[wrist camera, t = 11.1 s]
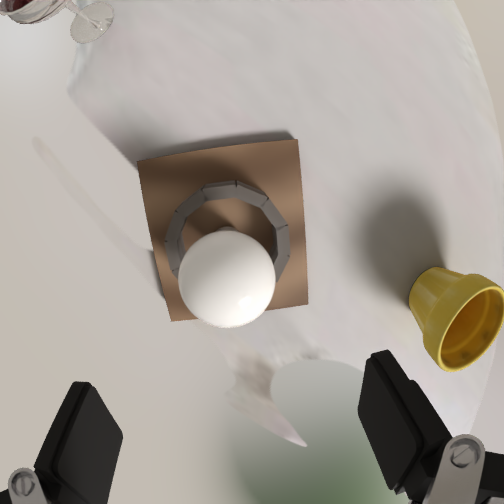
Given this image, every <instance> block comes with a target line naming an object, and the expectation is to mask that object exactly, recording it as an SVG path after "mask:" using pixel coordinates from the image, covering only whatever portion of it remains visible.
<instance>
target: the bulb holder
mask: <svg viewBox="0 0 504 504" xmlns="http://www.w3.org/2000/svg"><path fill="white" fill-rule="evenodd" d="M137 165H138V171H139V178H140V184H141V190H142V194H143V201H144V206H145V212H146V217H147V221H148V227H149V232H150V236H151V241H152V245H153V250H154V255H155V259H156V263H157V268H158V272H159V276H160V280H161V284H162V288H163V292H164V296H165V300H166V303H167V307H168V311H169V314H170V318H171V321H181V320H191V319H198V318H197V317H195V316H194V315H193V314H192V313H191V312H190V310H189V309H188V308H187V307H186V305H185V303H184V301H183V299H182V297H181V294H180V291H179V285H178V273H179V268H180V264H181V261H182V259H183V257H184V255H185V253H186V252H187V250H188V249H189V248H190V247H191V246H192V245H193V244H194V243H195V242H196V241H197V240H198V239H200V238H202V237H203V236H205V235H207V234H210V233H213V232H216V231H217V230H218V229H219V228H221V227H226V226H228V227H233V228H235V229H237V230H238V231H239V232H241V233H244V234H246V235H248V236H250V237H252V238H253V239H255V240H256V241H258V242H259V243H260V244H261V245H262V246H263V247H264V248H265V250H266V251H267V252H268V254H269V256H270V258H271V260H272V262H273V265H274V269H275V276H276V282H275V290H274V293H273V296H272V299H271V301H270V303H269V305H268V306H267V308H266V309H265V310H264V311H266V310H274V309H281V308H287V307H294V306H300V305H307V304H308V280H307V257H306V238H305V222H304V207H303V193H302V181H301V169H300V158H299V148H298V139H293V140H280V141H269V142H259V143H249V144H240V145H232V146H224V147H217V148H210V149H203V150H197V151H190V152H184V153H178V154H173V155H167V156H162V157H157V158H151V159H146V160H142V161H137Z"/></svg>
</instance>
